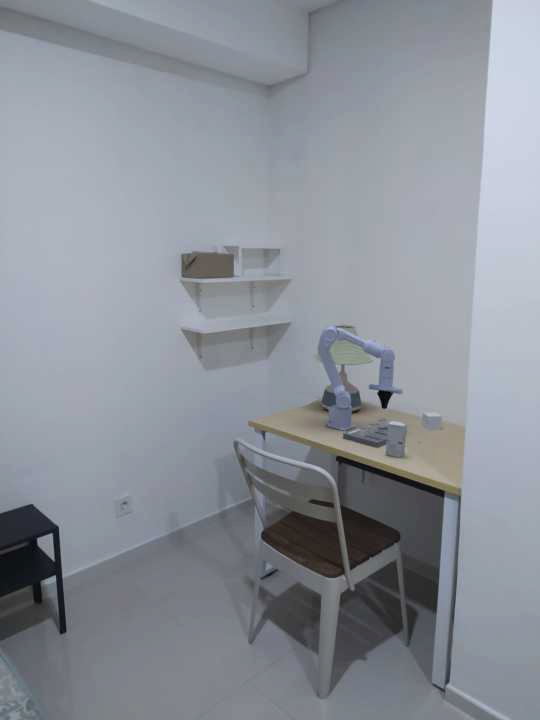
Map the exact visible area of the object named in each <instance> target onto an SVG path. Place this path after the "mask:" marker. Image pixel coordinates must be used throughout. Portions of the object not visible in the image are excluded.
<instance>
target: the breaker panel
mask: <svg viewBox="0 0 540 720" xmlns="http://www.w3.org/2000/svg"><path fill="white" fill-rule="evenodd" d="M407 431H408V430H406V434H407ZM387 432H388V425H387V427H385V428H378V423H377V422H371V423H368V424H366V425H363V426H360V427H357V428H355V429H352V430H350V431H349V430H348V431H347V432H346V431H345V432H343V434H342V438H343V439H344V440H348V441H352V442H354V443H359V444H363V445H366V446H370V447H373V448H377V449H378V448H380V447H383V446H385V445H386V444H387Z"/></svg>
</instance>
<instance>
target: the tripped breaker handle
mask: <svg viewBox="0 0 540 720" xmlns="http://www.w3.org/2000/svg"><path fill="white" fill-rule="evenodd" d="M387 426H388V419H386V418H383V417H382V418H379V419H378V428H385V427H387Z"/></svg>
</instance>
